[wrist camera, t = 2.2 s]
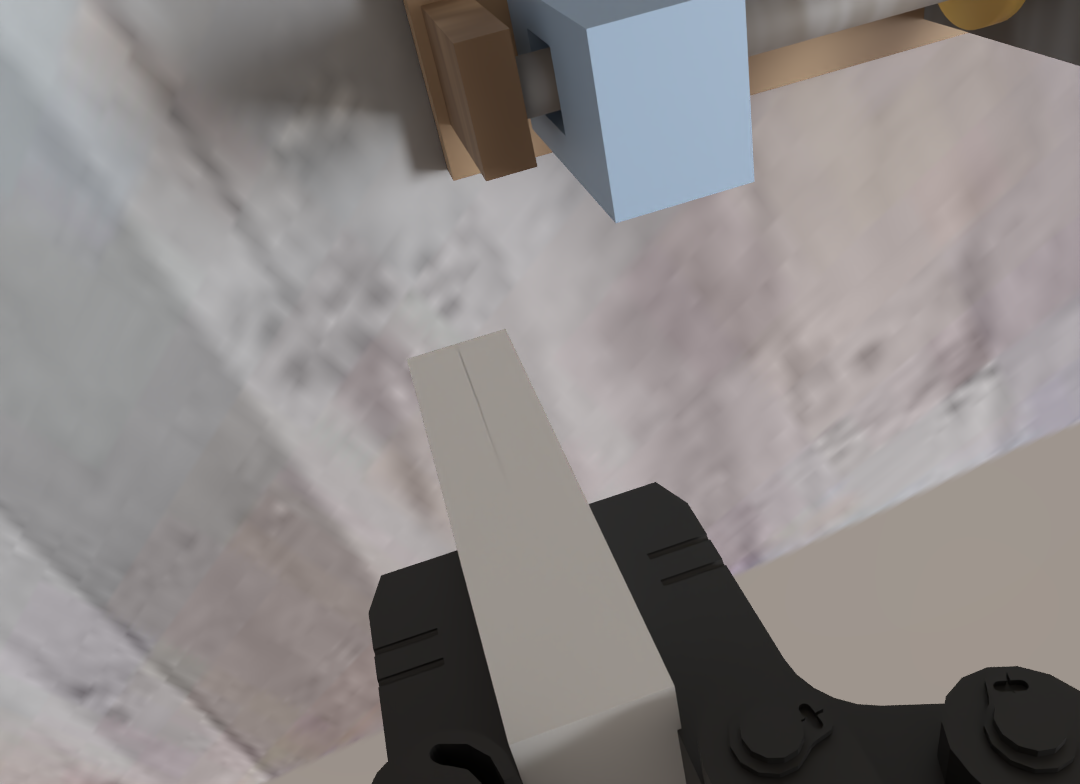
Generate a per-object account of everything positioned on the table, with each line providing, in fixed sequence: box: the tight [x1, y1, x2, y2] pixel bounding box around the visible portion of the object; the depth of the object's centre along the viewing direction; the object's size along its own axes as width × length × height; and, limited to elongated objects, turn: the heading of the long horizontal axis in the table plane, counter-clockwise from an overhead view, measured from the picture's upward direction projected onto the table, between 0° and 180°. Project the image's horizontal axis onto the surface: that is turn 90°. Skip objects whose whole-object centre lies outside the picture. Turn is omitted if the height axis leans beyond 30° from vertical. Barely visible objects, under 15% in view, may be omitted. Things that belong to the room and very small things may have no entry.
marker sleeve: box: [507, 0, 754, 223], centre depth 26 cm, size 4×5×9 cm
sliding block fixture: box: [403, 0, 1080, 181], centre depth 28 cm, size 22×8×10 cm, turn 102°
